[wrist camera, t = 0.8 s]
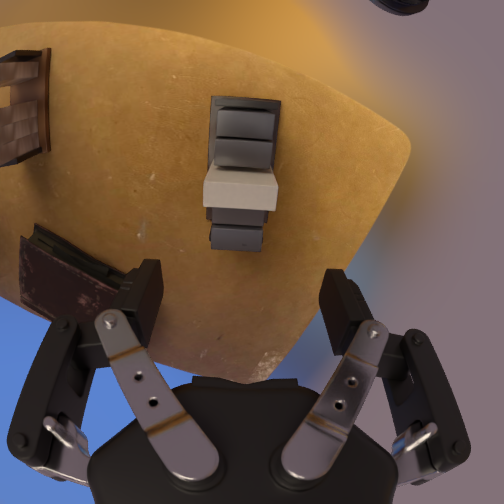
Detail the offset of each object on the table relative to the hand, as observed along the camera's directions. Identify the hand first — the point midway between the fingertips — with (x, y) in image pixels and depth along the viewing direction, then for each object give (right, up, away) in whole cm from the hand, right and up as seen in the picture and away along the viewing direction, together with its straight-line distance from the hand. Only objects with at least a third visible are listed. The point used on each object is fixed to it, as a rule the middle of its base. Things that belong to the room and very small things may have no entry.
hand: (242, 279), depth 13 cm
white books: (-32, +23, +13) cm, 41 cm away
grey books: (-1, +13, +20) cm, 24 cm away
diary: (-30, -5, +30) cm, 43 cm away
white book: (-1, +12, +19) cm, 23 cm away
